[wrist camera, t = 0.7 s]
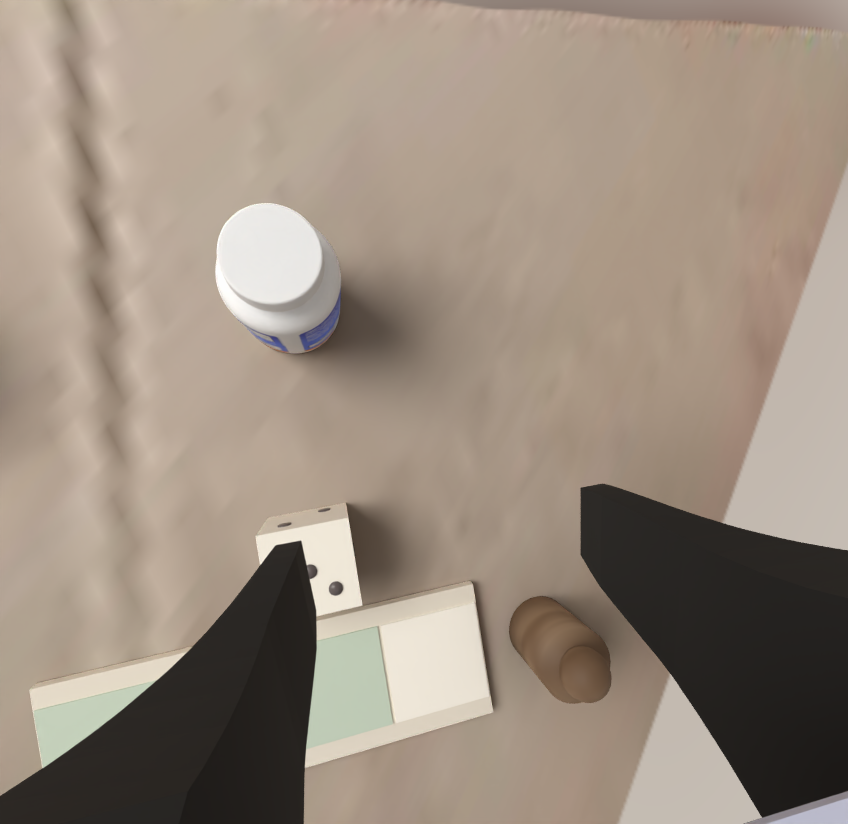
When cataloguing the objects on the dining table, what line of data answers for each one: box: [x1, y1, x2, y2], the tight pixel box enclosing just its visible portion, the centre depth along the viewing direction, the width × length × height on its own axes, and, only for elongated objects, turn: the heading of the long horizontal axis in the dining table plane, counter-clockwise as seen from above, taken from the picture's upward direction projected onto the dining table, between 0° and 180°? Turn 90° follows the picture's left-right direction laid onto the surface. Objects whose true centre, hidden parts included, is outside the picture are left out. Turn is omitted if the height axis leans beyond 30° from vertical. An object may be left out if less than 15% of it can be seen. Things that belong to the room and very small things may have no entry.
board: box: [29, 581, 493, 768], centre depth 27 cm, size 8×24×1 cm, turn 99°
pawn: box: [509, 596, 611, 704], centre depth 27 cm, size 4×4×7 cm
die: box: [256, 503, 362, 616], centre depth 25 cm, size 4×5×5 cm
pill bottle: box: [215, 203, 341, 353], centre depth 23 cm, size 5×5×10 cm
